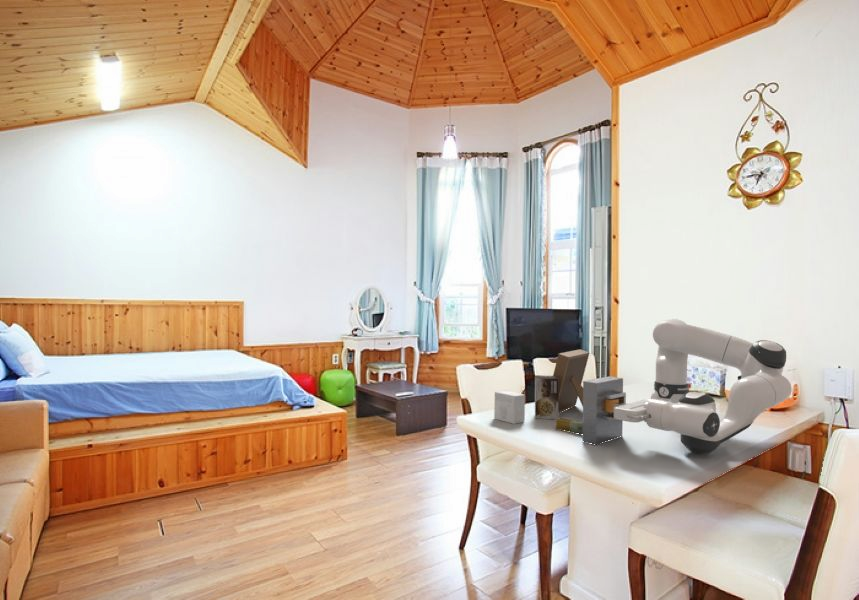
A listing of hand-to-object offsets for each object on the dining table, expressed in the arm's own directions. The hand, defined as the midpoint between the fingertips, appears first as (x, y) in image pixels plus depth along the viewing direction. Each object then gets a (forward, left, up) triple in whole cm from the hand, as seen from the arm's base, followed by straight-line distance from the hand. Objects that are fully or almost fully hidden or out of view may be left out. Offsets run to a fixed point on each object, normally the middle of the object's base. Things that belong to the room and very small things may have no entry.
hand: (615, 405), depth 159 cm
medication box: (0, -16, -13) cm, 21 cm away
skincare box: (+6, -40, -12) cm, 43 cm away
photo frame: (-25, -34, -12) cm, 43 cm away
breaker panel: (0, -3, -12) cm, 12 cm away
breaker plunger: (0, -5, -2) cm, 5 cm away
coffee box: (-9, -34, -12) cm, 38 cm away
